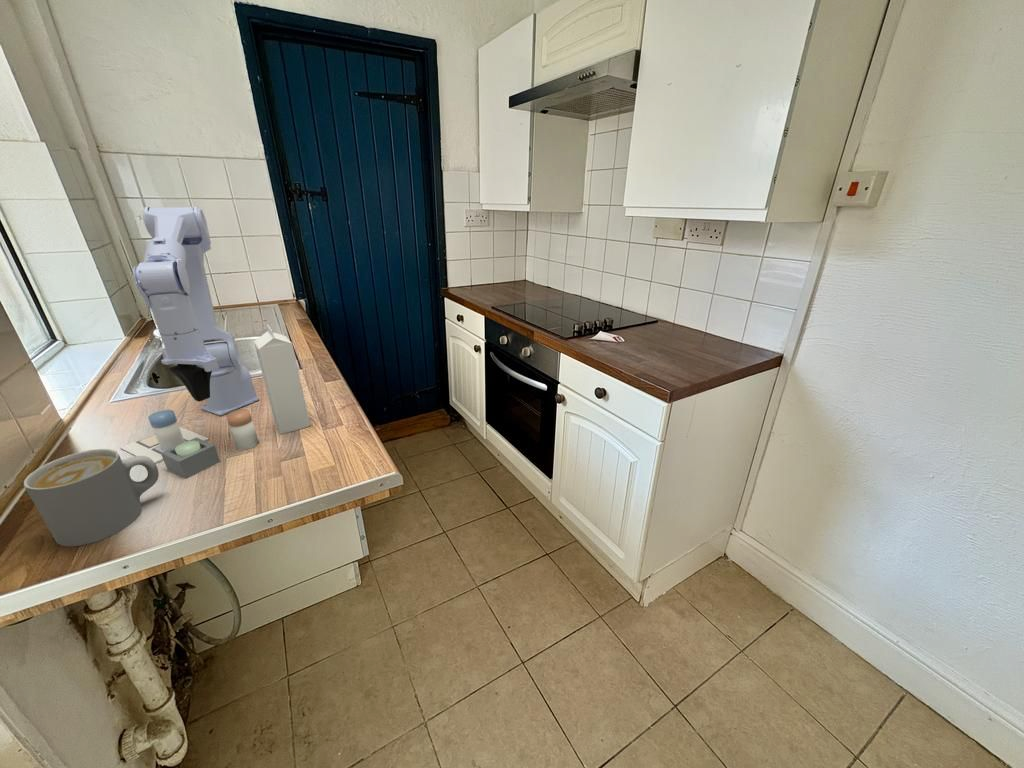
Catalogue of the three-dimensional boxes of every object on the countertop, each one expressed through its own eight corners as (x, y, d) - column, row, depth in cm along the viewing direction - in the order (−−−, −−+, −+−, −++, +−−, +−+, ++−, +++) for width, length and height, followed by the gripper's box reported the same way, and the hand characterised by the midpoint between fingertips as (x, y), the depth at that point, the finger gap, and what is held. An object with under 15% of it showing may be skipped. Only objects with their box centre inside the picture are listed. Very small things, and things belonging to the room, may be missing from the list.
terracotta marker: (251, 437, 87) (242, 407, 84) (263, 442, 86) (253, 411, 83) (232, 446, 84) (221, 415, 81) (243, 451, 82) (233, 420, 80)
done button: (197, 454, 80) (192, 438, 79) (208, 459, 79) (203, 443, 77) (176, 464, 77) (170, 448, 76) (187, 469, 76) (181, 453, 75)
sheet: (176, 426, 92) (175, 424, 92) (208, 439, 87) (208, 437, 87) (120, 448, 84) (119, 447, 84) (152, 464, 79) (151, 462, 78)
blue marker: (179, 438, 86) (167, 408, 83) (189, 443, 84) (177, 412, 82) (157, 447, 83) (144, 416, 80) (166, 453, 81) (154, 421, 79)
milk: (280, 435, 88) (253, 333, 79) (275, 423, 93) (248, 326, 84) (311, 426, 92) (288, 327, 83) (304, 415, 96) (282, 321, 87)
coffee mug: (52, 557, 58) (17, 499, 54) (58, 520, 65) (28, 465, 61) (172, 513, 66) (150, 460, 62) (166, 484, 73) (145, 434, 69)
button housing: (201, 453, 82) (196, 437, 81) (220, 461, 80) (214, 445, 78) (167, 469, 77) (160, 452, 76) (185, 478, 75) (179, 461, 73)
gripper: (132, 331, 76) (158, 399, 81) (177, 342, 70) (202, 415, 75) (176, 321, 81) (197, 386, 87) (221, 331, 75) (241, 400, 81)
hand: (202, 399), depth 81 cm, fingers closed
